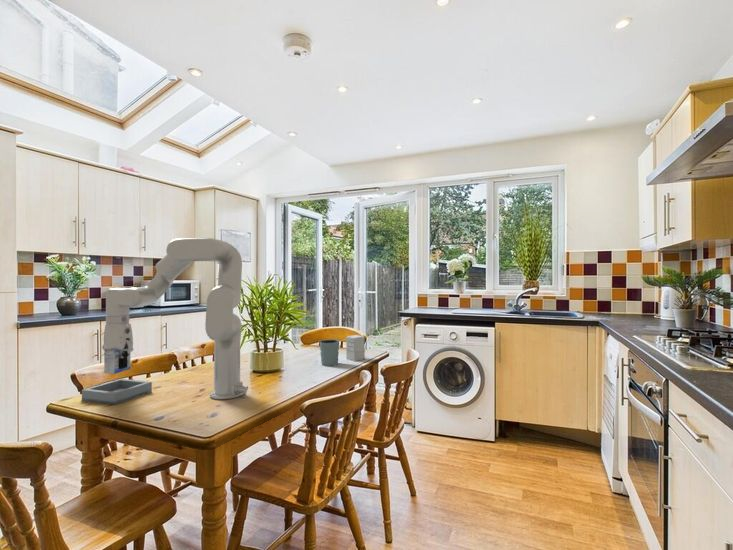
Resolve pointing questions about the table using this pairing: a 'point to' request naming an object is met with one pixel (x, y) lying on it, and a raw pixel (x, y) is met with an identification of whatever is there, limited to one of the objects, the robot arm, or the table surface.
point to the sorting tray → (116, 391)
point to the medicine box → (113, 362)
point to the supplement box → (355, 347)
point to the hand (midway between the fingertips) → (117, 367)
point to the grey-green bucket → (329, 352)
